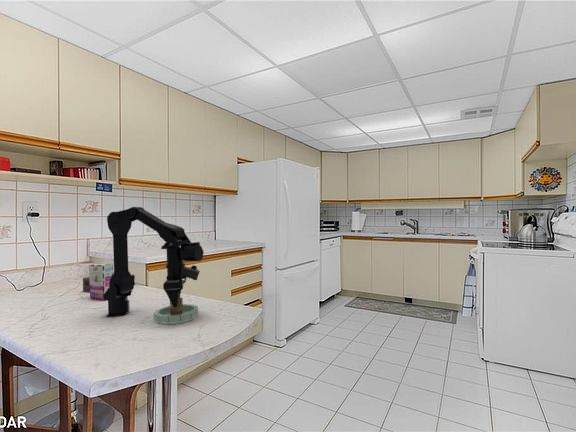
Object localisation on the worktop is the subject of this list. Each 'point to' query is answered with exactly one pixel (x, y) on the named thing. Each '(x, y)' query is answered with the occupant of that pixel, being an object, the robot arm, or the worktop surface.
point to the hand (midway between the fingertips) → (176, 303)
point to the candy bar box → (99, 279)
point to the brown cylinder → (179, 307)
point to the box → (86, 284)
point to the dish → (165, 318)
